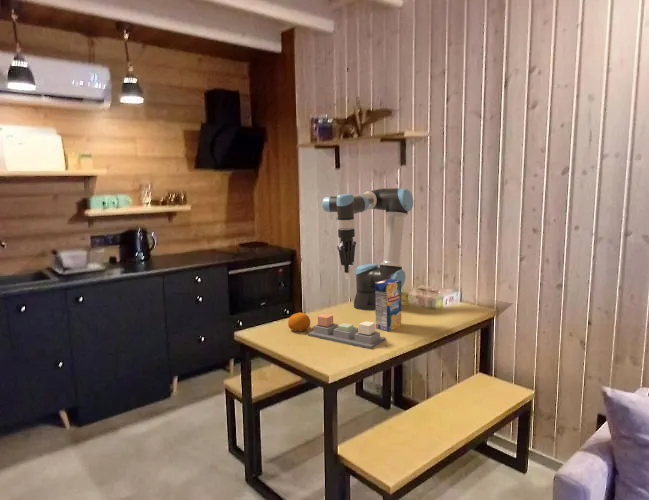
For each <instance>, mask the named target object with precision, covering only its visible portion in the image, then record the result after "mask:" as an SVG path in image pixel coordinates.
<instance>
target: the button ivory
mask: <svg viewBox="0 0 649 500" xmlns="http://www.w3.org/2000/svg"><path fill="white" fill-rule="evenodd" d="M375 331H376V322H372V321H366V320H365V321H363V322H361V323H359V324H358V332H359V333H361V334H366V335H370V334H372V333H374V332H375Z"/></svg>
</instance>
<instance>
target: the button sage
mask: <svg viewBox="0 0 649 500" xmlns="http://www.w3.org/2000/svg"><path fill="white" fill-rule="evenodd" d="M354 327H355V325H354V324H353V323H352V324H351V323H348V322H343V323H341V324H338V330H340V331H345V332H349V331H351V330H353V329H354Z"/></svg>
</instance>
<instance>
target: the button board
mask: <svg viewBox="0 0 649 500" xmlns="http://www.w3.org/2000/svg"><path fill="white" fill-rule="evenodd" d="M338 325H339V323H334V322H333V324H332V325H330V326H327V327H326V326H321V325H318V323H317V324H314V325H313V330H312V331H309V332H307V336H308V337H311V338H317V339H322V340H325V341H326V340H327V341H331V342H335V343H340V344H344V345H348V346H352V347H359V348H363V349H367V350H372V349H374V348H375V347H377V346H379V345H380V344H382V343H384V342H385V341H386V340H387V338H386V337H384V336H381V332H380V331H376V330H375V332H374V333H372V334H370V335H366V334H361V333H359V327H355V326H354V329H353V330H351V331H349V332H345V331H340V330H338Z"/></svg>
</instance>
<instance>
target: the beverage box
mask: <svg viewBox="0 0 649 500" xmlns="http://www.w3.org/2000/svg"><path fill="white" fill-rule="evenodd" d="M374 311H375V330H379V331H383V332H384V331H385V332H390V331H393V330H394V329H397V328H400V327H402V288H401V281H399V280H393V279H387V280H384V281H380V282H377V283H375V309H374Z"/></svg>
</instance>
